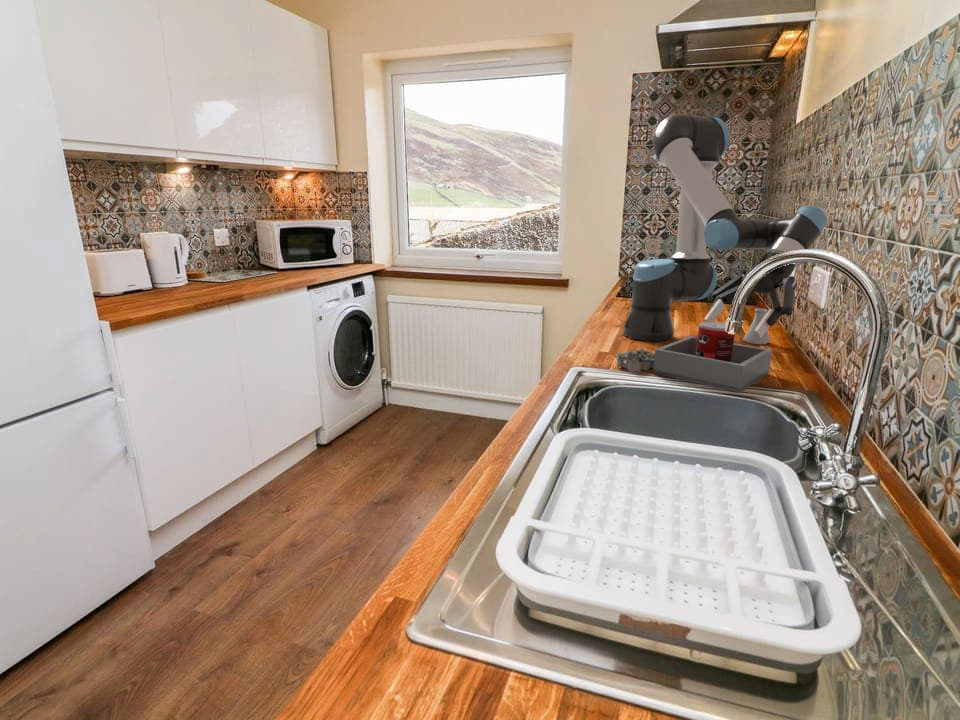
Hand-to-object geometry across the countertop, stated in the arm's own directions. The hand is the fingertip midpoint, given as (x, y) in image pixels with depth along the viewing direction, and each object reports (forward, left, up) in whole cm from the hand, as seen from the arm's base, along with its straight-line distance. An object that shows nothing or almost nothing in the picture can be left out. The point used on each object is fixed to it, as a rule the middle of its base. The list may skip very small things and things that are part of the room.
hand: (731, 328), depth 129 cm
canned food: (+3, -2, -10) cm, 11 cm away
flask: (-39, -5, -11) cm, 41 cm away
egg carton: (+10, -18, -11) cm, 24 cm away
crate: (+4, -2, -11) cm, 12 cm away
